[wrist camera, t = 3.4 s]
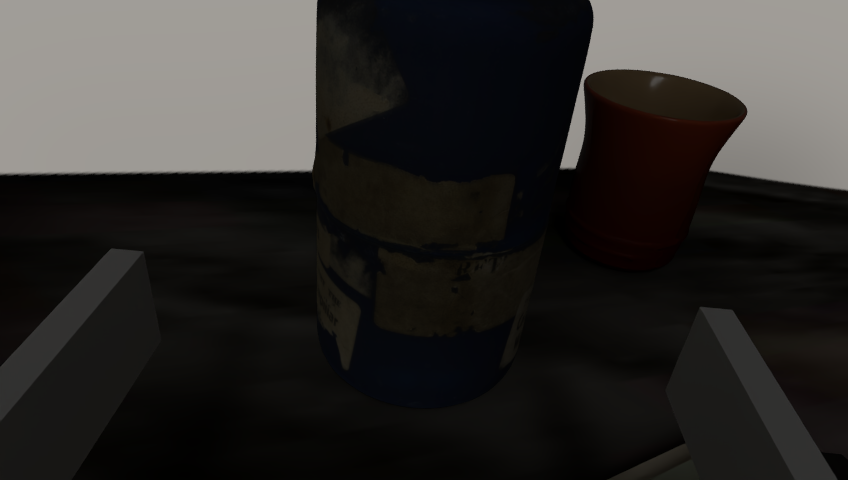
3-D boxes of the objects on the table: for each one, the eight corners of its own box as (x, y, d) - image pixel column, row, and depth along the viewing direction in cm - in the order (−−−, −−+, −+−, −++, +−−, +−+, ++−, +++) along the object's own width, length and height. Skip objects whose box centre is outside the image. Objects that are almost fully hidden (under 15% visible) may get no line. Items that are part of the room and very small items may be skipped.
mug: (629, 304, 33) (689, 133, 28) (520, 232, 39) (552, 78, 34) (739, 248, 40) (805, 100, 34) (632, 193, 46) (674, 58, 40)
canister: (290, 314, 30) (272, -90, 21) (449, 273, 34) (496, -77, 25) (367, 459, 23) (396, -46, 14) (555, 385, 27) (677, -39, 18)
